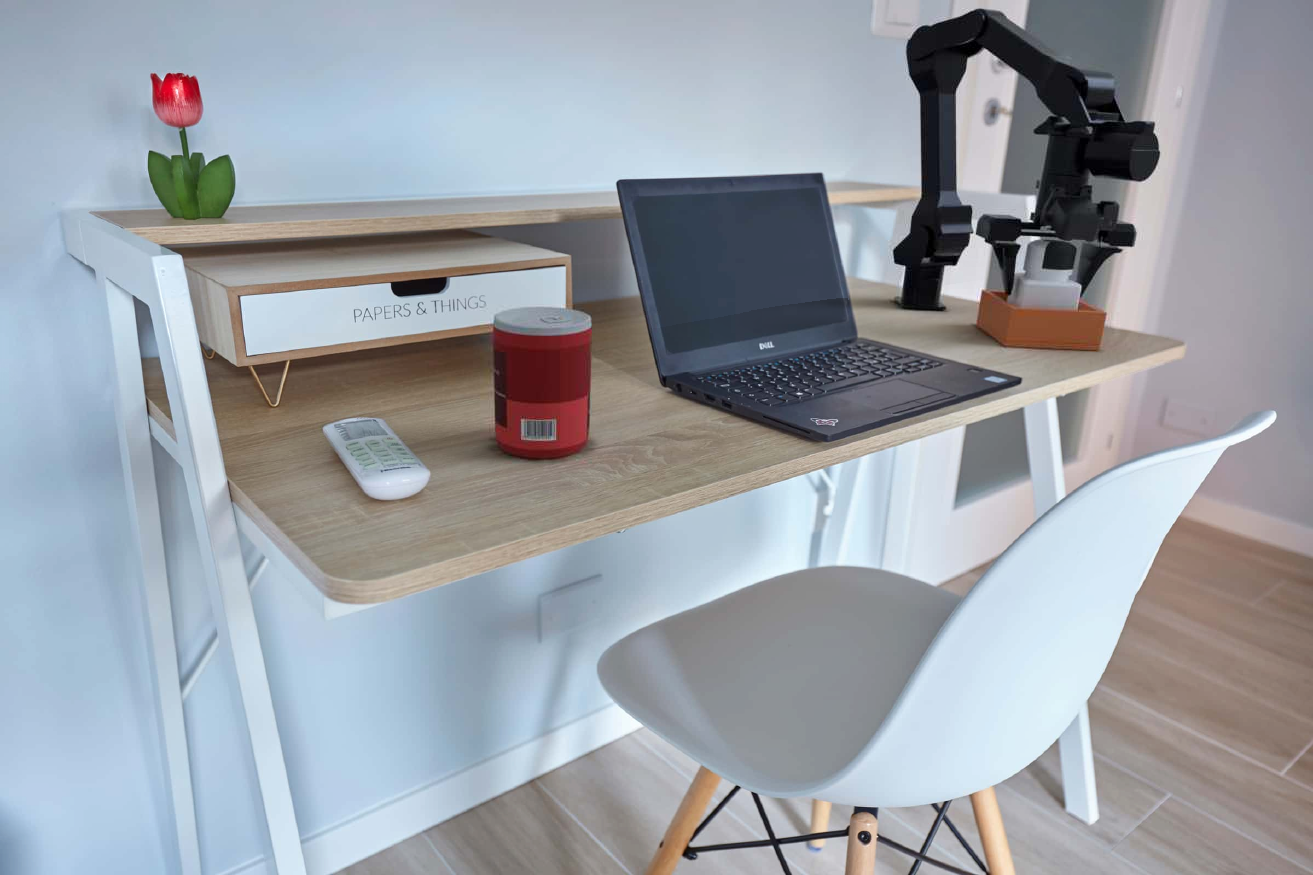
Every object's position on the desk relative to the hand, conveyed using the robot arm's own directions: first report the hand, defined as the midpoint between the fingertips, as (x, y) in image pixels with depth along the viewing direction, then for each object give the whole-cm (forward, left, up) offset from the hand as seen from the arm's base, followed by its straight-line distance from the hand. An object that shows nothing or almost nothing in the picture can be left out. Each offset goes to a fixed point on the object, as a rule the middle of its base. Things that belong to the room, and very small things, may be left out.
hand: (1042, 296), depth 123 cm
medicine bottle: (0, 0, -5) cm, 5 cm away
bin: (0, 0, -6) cm, 6 cm away
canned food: (+49, -60, -6) cm, 78 cm away
